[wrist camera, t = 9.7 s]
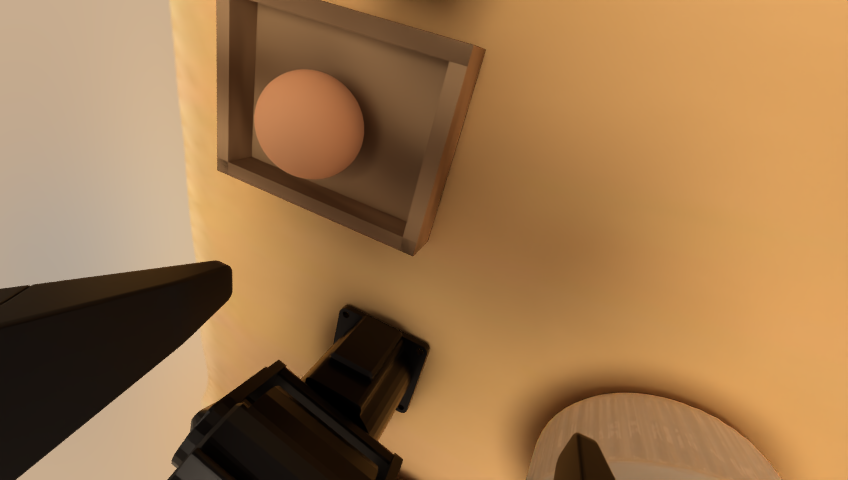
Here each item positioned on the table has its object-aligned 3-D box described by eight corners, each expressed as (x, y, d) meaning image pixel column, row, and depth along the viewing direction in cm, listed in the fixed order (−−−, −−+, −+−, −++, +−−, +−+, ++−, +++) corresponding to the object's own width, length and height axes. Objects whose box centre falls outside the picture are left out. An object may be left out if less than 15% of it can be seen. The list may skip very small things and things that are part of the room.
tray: (427, 240, 21) (412, 256, 19) (246, 163, 24) (217, 170, 22) (485, 49, 16) (473, 45, 15) (251, -19, 19) (216, -31, 17)
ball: (339, 212, 19) (303, 159, 14) (263, 172, 20) (206, 110, 15) (390, 138, 20) (373, 67, 16) (316, 105, 21) (279, 29, 17)
